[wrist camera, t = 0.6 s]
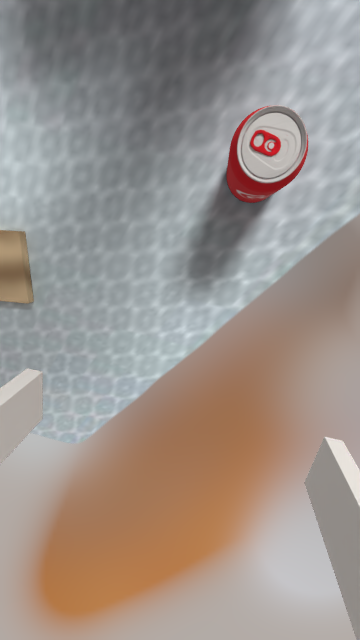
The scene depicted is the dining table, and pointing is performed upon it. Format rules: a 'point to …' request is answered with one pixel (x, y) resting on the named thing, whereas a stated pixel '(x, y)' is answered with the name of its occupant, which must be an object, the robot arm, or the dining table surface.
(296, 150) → the beverage can
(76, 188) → the dining table surface
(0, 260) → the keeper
